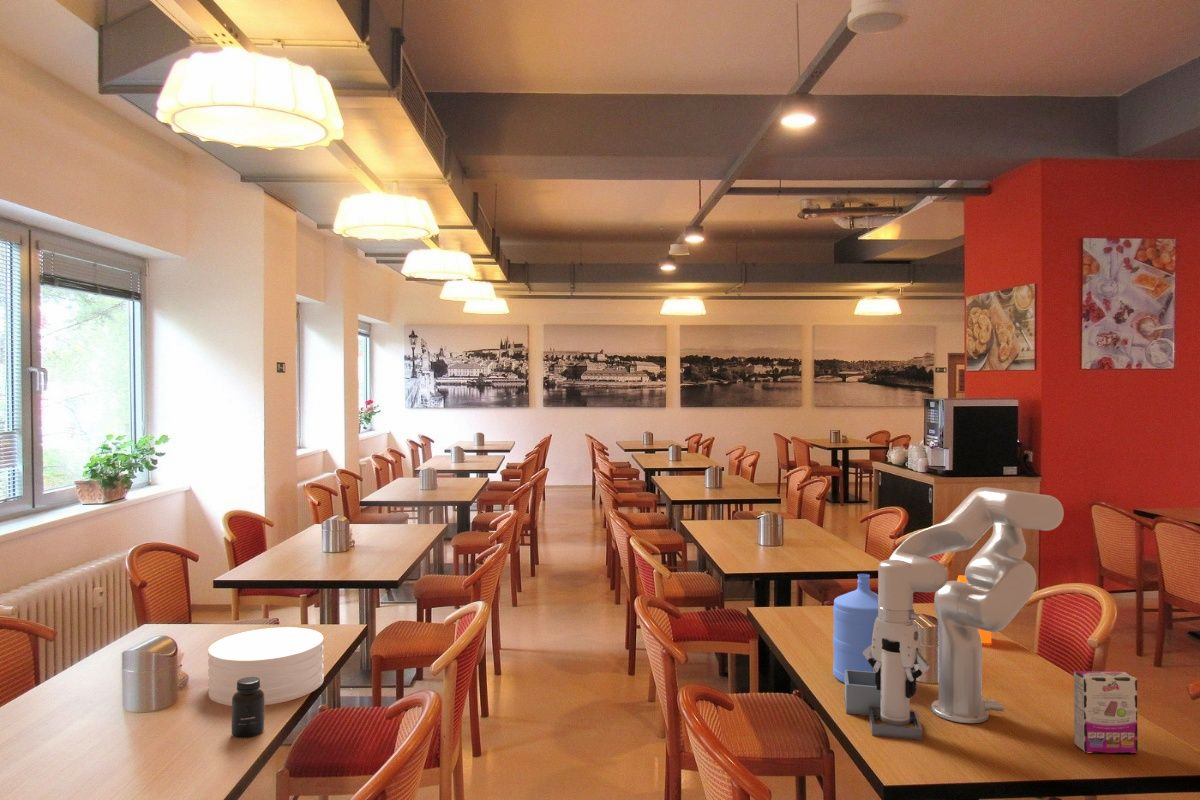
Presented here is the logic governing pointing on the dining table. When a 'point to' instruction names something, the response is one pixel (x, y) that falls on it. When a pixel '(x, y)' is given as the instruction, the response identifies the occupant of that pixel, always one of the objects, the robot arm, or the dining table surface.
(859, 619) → the water jug
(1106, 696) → the candy bar box
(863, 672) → the grey bin
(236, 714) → the supplement bottle
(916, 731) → the metal collar
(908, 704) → the travel mug
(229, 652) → the plate stack
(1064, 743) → the dining table surface
